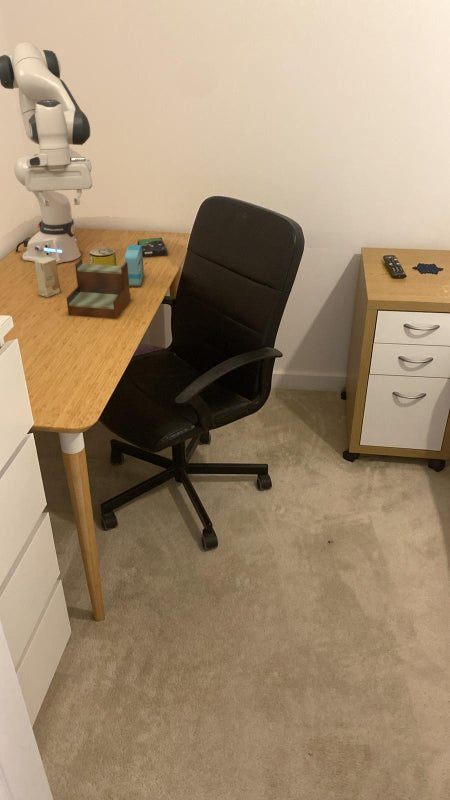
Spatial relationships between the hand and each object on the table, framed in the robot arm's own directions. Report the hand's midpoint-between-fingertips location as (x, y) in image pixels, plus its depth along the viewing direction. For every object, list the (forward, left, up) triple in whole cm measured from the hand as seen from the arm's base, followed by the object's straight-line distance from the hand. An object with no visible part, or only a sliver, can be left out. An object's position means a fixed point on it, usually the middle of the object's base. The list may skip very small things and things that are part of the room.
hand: (62, 205), depth 204 cm
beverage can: (+6, +15, -32) cm, 36 cm away
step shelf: (+11, -5, -32) cm, 34 cm away
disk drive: (+13, +52, -32) cm, 62 cm away
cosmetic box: (-10, +3, -32) cm, 34 cm away
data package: (+16, +19, -32) cm, 40 cm away
